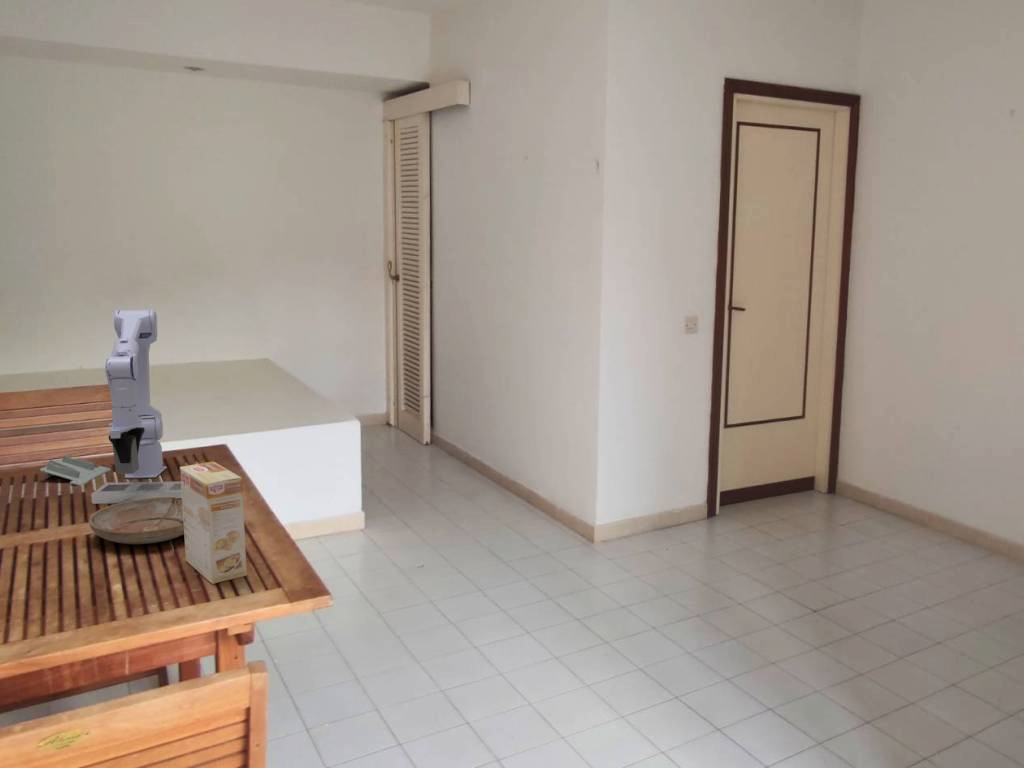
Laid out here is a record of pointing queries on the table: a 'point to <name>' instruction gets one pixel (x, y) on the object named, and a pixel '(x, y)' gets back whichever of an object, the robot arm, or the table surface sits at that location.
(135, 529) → the ceramic bowl
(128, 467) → the square peg
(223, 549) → the coffeecake box
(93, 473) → the metal bracket
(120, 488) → the hole rail
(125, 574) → the table surface
